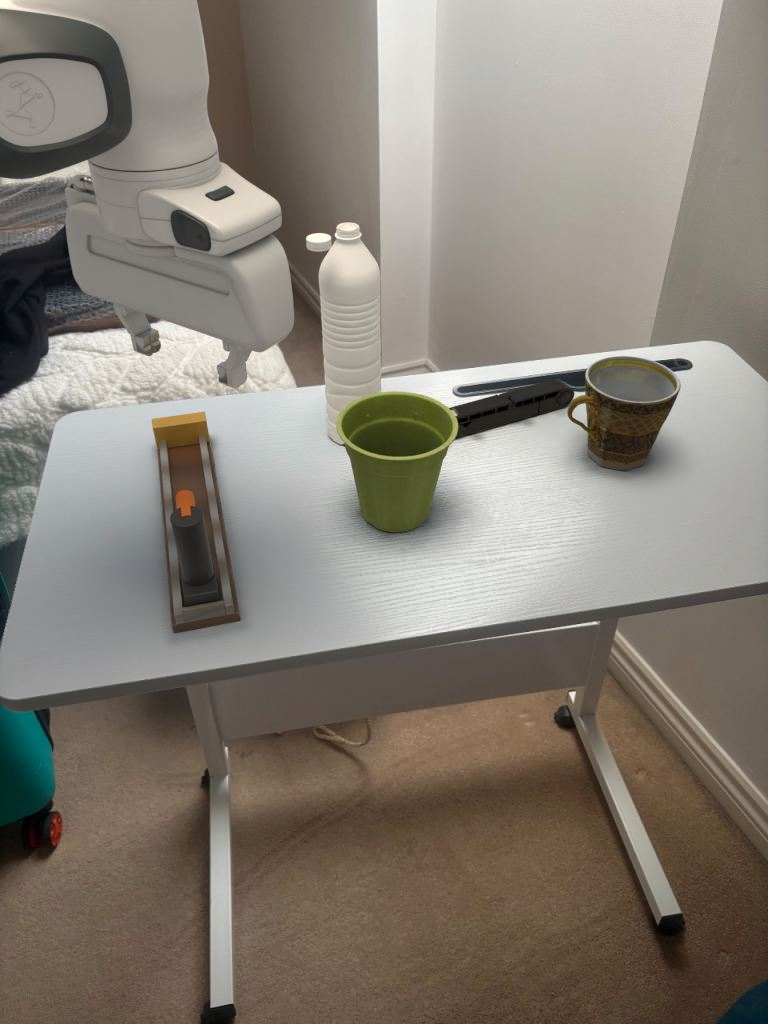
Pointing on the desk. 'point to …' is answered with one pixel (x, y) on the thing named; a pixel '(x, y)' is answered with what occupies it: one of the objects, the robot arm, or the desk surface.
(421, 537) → the desk surface
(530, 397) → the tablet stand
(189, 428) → the block
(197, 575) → the nozzle
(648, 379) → the ceramic cup
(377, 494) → the plant pot
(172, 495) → the rail
